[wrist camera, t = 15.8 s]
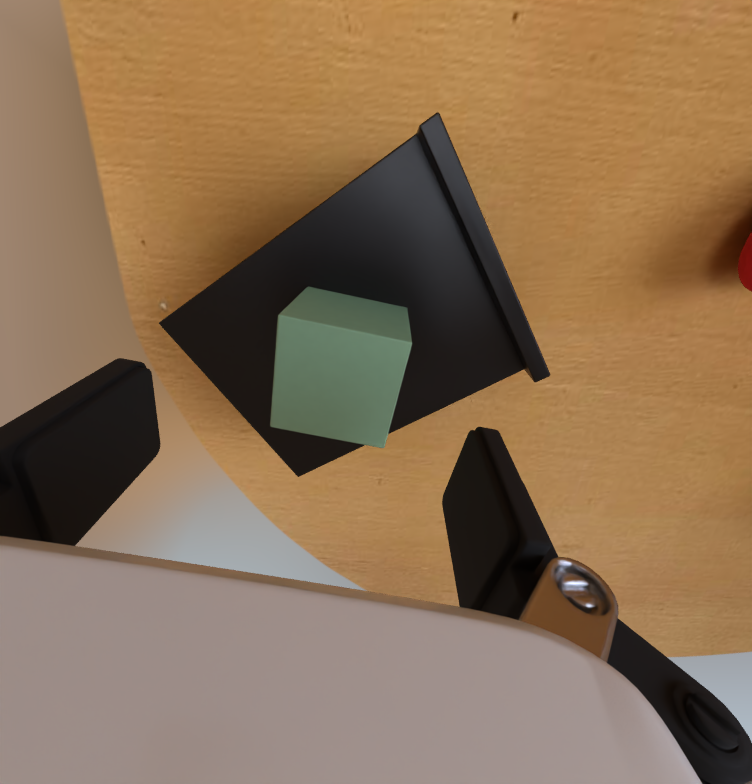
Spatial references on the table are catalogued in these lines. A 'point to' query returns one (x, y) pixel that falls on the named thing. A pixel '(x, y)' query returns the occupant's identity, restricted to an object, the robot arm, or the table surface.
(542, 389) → the table surface
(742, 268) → the toy figure
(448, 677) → the robot arm
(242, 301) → the plate
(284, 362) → the cube
